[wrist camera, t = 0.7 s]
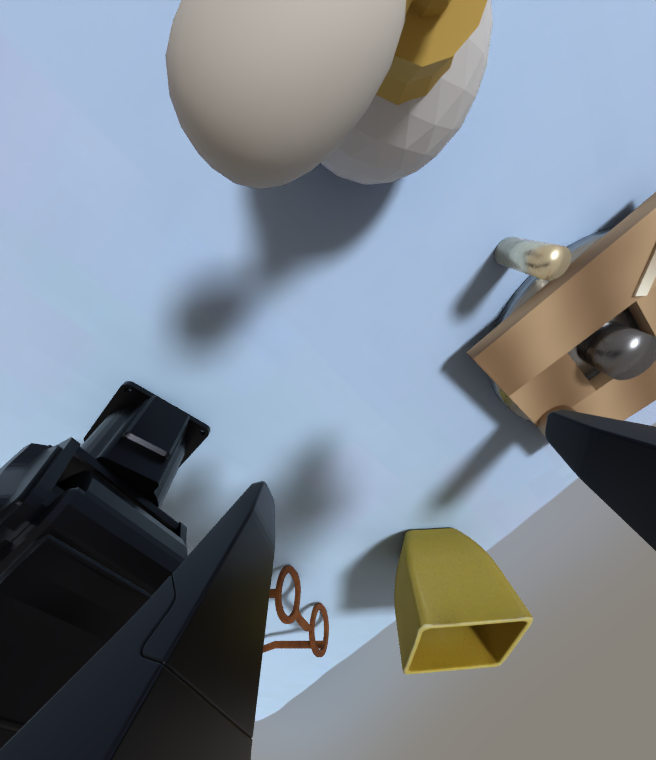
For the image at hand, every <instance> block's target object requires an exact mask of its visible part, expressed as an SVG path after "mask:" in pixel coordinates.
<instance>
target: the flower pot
mask: <svg viewBox="0 0 656 760" xmlns="http://www.w3.org/2000/svg"><path fill="white" fill-rule="evenodd" d="M394 600H395V614H396V622H397V630H398V637H399V645H400V653H401V661H402V668H403V672H404V674H419V673H430V672H439V671H451V670H462V669H474V668H485V667H495V666H499V665H500V664H501V663H503V662H504V660H505V659H506V658H507V657H508V655H509V654H510V653H511V651H512V650H513V649H514V647H515V646H516V645H517V643H518V642H519V640H520V639H521V638H522V636H523V634H524V633H525V632H526V630H527V629H528V628H529V626H530V625H531V623H532V620H533V617H532V616H531V614H530V613H529V611H528V610H527V608H526V607H525V605H524V604H523V603H522V601H521V599H520V598H519V596H518V595H517V593H516V592H515V591H514V589H513V588H512V586H511V585H510V583H509V582H508V580H507V579H506V577H505V576H504V574H503V573H502V571H501V570H500V569H499V567H498V566H497V565H496V563H495V562H494V560H493V559H492V558H491V557H490V556H489V555H488V554H487V552H486V551H485V550H484V549H483V548H482V547H481V546H479V545H478V544H477V543H476V542H475V541H473V540H472V539H471V538H469V537H468V536H466V535H465V534H463V533H462V532H460V531H458V530H457V529H454V528H443V529H426V530H410V531H407V532H406V534H405V537H404V541H403V546H402V550H401V554H400V557H399V562H398V567H397V573H396V579H395V595H394Z"/></svg>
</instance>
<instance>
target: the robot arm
mask: <svg viewBox="0 0 656 760" xmlns="http://www.w3.org/2000/svg"><path fill="white" fill-rule="evenodd" d="M127 388H130V389H131V390H132V391H130V390H128V389H127ZM201 430H204V431H205V432H202V431H201ZM209 432H210V427H209V426H208V425H206V424H205V423H203V422H201V421H199V420H198V419H196V418H194V417H193V416H191V415H189V414H187V413H186V412H184V411H182V410H180V409H179V408H177V407H175V406H174V405H172V404H170V403H168V402H167V401H165V400H163V399H161V398H160V397H158V396H156V395H155V394H153V393H151V392H149V391H148V390H146V389H144V388H142V387H141V386H139V385H137V384H135V383H134V382H130V381H127V382H125V383H124V384H123V385H122V386H121V387H120V388H119V389H118V391H117V392H116V394H115V395H114V396H113V398H112V399H111V401H110V402H109V404H108V405H107V406H106V408H105V409H104V411H103V412H102V413H101V415H100V416H99V418H98V419H97V420H96V422H95V423H94V425H93V426H92V427H91V429H90V430H89V432H88V433H87V435H86V436H85V437H84V443H83V444H82V445H81V447H80V443H78V442H77V441H76V440H75V439H73V438H72V437H71V438H69V439H67V440H65V441H64V442H62V443H60V444H58V445H56V446H53V447H52V446H51V445H48V446H46V445H40V444H34V443H31V444H29V445H28V446H26V447H24V448H23V449H22V450H20V451H19V452H18V453H17V454H16V455H15V456H14V457H13V458H11V459H10V460H9V461H8V462H7V463H6V464H5V465H4V466H3V467H2V468H1V469H0V760H251V747H252V739H251V738H252V736H253V730H254V721H255V713H256V704H257V696H258V687H259V679H260V670H261V662H262V653H263V645H264V636H265V628H266V619H267V610H268V602H269V593H270V585H271V576H272V568H273V559H274V549H275V505H274V499H273V497H272V495H271V492H270V490H269V488H268V486H267V484H266V483H265V482H264V481H261V482H257V483H253V484H252V485H251V486H250V487H249V488H248V489H247V490H246V491H245V492H244V493H243V495H242V496H241V497H240V498H239V499H238V500H237V501H236V502H235V504H234V505H233V506H232V507H231V508H230V509H229V510H228V512H227V513H226V514H225V515H224V516H223V517H222V518H221V519H220V521H219V522H218V523H217V524H216V525H215V526H214V527H213V528H212V530H211V531H210V532H209V533H208V534H207V535H206V536H205V537H204V539H203V540H202V541H201V542H200V543H199V544H198V545H197V546H196V548H195V549H194V550H193V551H192V552H191V553H190V554H189V555H188V557H187V547H186V532H187V528H186V526H184V525H183V524H182V523H180V522H179V523H178V522H176V521H175V520H174V519H172V518H171V517H170V516H169V515H167V514H166V513H165V512H163V511H162V510H161V509H160V507H161V505H162V502H163V500H164V498H165V496H166V494H167V492H168V489H169V487H170V485H171V483H172V481H173V478H174V476H175V474H176V472H177V470H178V468H179V467H180V466H181V465H182V464H183V463H184V461H185V460H186V459H187V458H188V457H189V456H190V455H191V454H192V453H193V452H194V451H195V449H196V448H197V447H198V446H199V445H200V444H201V443H202V442H203V441H204V440H205V439H206V437H207V436H208V435H209ZM545 436H546V439H547V441H548V442H549V443H550V444H551V446H552V447H553V448H554V449H555V450H556V451H557V453H558V454H559V455H560V456H561V457H562V458H563V460H564V461H565V462H566V463H567V464H568V465H569V467H570V468H571V469H572V470H573V471H574V472H575V473H576V475H577V476H578V477H579V478H580V479H581V480H582V481H583V482H584V483H585V484H586V485H587V486H588V487H589V488H590V489H591V490H593V491H594V492H595V493H596V494H597V495H598V496H599V497H600V498H601V499H602V500H603V501H604V502H605V503H606V504H607V505H608V506H609V507H611V509H612V510H614V511H615V512H616V513H617V514H618V515H619V516H620V517H621V518H622V519H623V520H624V521H625V522H626V523H627V524H628V525H629V526H630V527H631V528H632V529H633V530H635V532H637V533H638V534H639V535H640V536H641V537H642V538H643V539H644V540H645V541H646V542H647V543H648V544H649V545H650V546H651V547H652V548H653V549H654V550H655V551H656V427H654V426H649V425H644V424H638V423H633V422H628V421H622V420H617V419H612V418H607V417H601V416H596V415H591V414H585V413H580V412H575V411H570V410H564V409H561V410H556V411H552V412H550V413H549V414H548V415H547V421H546V428H545Z"/></svg>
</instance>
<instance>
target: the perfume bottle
mask: <svg viewBox="0 0 656 760" xmlns="http://www.w3.org/2000/svg"><path fill="white" fill-rule="evenodd" d="M492 24H493V20H492V6H491V0H182V1H181V3H180V5H179V8H178V10H177V12H176V15H175V17H174V19H173V23H172V27H171V32H170V37H169V42H168V47H167V52H166V65H167V75H168V85H169V95H170V98H171V101H172V103H173V106H174V109H175V112H176V114H177V117H178V120H179V122H180V125H181V128H182V129H183V131H184V132H185V134H186V135H187V137H188V138H189V140H190V141H191V143H192V145H193V146H194V148H195V149H196V151H197V152H198V154H199V155H200V156H201V157H202V158H203V159H204V160H205V161H206V162H207V163H208V164H209V165H210V166H211V167H212V168H213V169H214V170H216V171H217V172H219V173H220V174H222V175H223V176H225V177H226V178H228V179H229V180H230V181H232V182H233V183H236V184H240V185H244V186H247V187H251V188H255V189H263V188H270V187H277V186H284V185H286V184H288V183H290V182H291V181H293V180H295V179H297V178H299V177H301V176H303V175H305V174H307V173H309V172H311V171H312V170H313V169H314V168H315V167H316V166H317V165H319V164H320V163H321V164H322V165H323V166H325V167H326V168H327V169H328V170H330V171H331V172H333V173H334V174H335V175H337V176H338V177H341V178H345V179H348V180H351V181H354V182H357V183H360V184H364V185H366V184H381V183H392V182H394V181H396V180H398V179H401V178H403V177H405V176H407V175H410V174H412V173H414V172H416V171H418V170H419V169H421V168H422V167H423V166H424V165H426V164H427V163H428V162H429V161H431V160H432V159H433V158H435V157H436V156H437V155H438V153H439V152H440V151H441V150H442V149H443V148H444V146H445V145H446V144H447V143H448V142H449V141H450V139H451V138H452V137H453V136H454V135H455V134H456V132H457V131H458V130H459V129H460V128H461V126H462V124H463V122H464V120H465V118H466V116H467V114H468V112H469V110H470V108H471V106H472V104H473V102H474V100H475V98H476V95H477V93H478V90H479V87H480V84H481V81H482V78H483V75H484V72H485V69H486V66H487V60H488V53H489V46H490V39H491V32H492Z"/></svg>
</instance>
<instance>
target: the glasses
mask: <svg viewBox="0 0 656 760" xmlns="http://www.w3.org/2000/svg"><path fill="white" fill-rule="evenodd" d="M287 573H290V574H291V575H292V577H293V579H294V583H295V602H294V607H293V610H292V613H291V614H290V615H289V616H287V615H286V614H285V612H284V610H283V607H282V600H281V593H282V586H283V581H284V578H285V576H286V574H287ZM300 593H301V587H300V579H299V576H298V573H297V572H296V570H295V569H294V568H293V567H292V566H285V567H284V568H283V569H282V570H281V572H280V574H279V577H278V580H277V585H276V589H270V593H269V598H275V606H276V611H277V614H278V617H279V619H280V620H281V621H282V622H283V623H285V624H291V623H293V622H294V621H295V620H296V621H297V623H298V624H299V625H300V626H301V627H302V628H303V629H304V630H305V631H309V640H310V641H274V642H271V643H269V644H266V645H263V652H266V651H269V650H272V649H275V648H311V649H312V651H313V654H314V655H315V656H316V657H323V656H324V654H325V652H326V649H327V644H328V635H329V622H328V615H327V611H326V609H325V607H324V606H323V605H322V604H321V603H317V604H315V605H314V607H313V610H312V614H311V619H310V625H309V624H308V623H307V621H306V620H305V619H304V618H303V617H302V616H301V614H300V611H299V605H300ZM318 610H320V611H321V613H322V615H323V619H324V638H323V641H315V635H314V627H315V619H316V615H317V612H318ZM318 648H321V649H320V650H319V649H318Z"/></svg>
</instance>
